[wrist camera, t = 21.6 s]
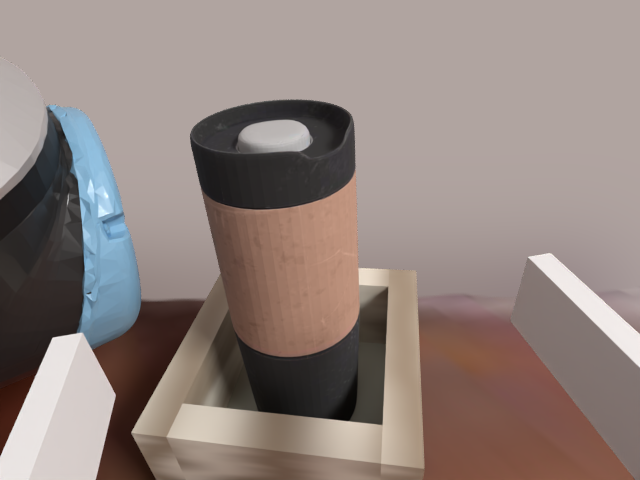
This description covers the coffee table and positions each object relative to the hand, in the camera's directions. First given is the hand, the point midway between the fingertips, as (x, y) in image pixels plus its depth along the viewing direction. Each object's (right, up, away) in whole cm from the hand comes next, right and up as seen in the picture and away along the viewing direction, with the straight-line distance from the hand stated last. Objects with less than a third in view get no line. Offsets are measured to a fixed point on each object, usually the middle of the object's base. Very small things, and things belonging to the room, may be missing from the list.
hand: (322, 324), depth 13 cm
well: (-1, -10, +18) cm, 20 cm away
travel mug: (-1, -9, +18) cm, 20 cm away
